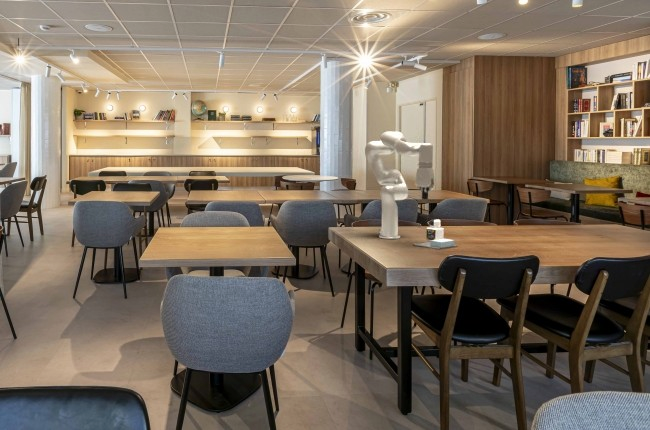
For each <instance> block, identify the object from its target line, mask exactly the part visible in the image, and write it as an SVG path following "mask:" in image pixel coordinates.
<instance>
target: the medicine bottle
mask: <svg viewBox="0 0 650 430" xmlns="http://www.w3.org/2000/svg"><path fill="white" fill-rule="evenodd" d="M441 223H442V222H441V220H440V219H436V218H435V219H431V220H430V221H429V227H426V233H425V234H426V239H425V240H426V241H428V242H430V241H431V240H438V239H445V238H444V232H445V229H444V227H441Z"/></svg>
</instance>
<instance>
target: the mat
mask: <svg viewBox="0 0 650 430" xmlns="http://www.w3.org/2000/svg"><path fill="white" fill-rule="evenodd" d="M412 246H415V247H420V248H427V249H432V250H445V249H451V248H456V247H458V245H456V244H454V246H449V247H443V248H439V247H433V246H430V241H427V242H419V243H413V244H412Z"/></svg>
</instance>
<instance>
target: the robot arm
mask: <svg viewBox="0 0 650 430" xmlns="http://www.w3.org/2000/svg"><path fill="white" fill-rule="evenodd" d="M379 139H380V140H371V141H369V142H368V143H366V145H365V148H364V155H365V159H366V160H367V162H368V164H369V166H370V167H371V170H372V172H373V175H374V176H375V180H376V181H377V183H378V184H379V185H382V186H381V188H380V191H379V192H380V193H379V195H380V200H381V229H378V230H377V233H378V238H380V239H387V240H389V239H391V240H392V239H401V234H399V232H398V228H399V227H398V226H399V224H398V223H399V219H398V218H399V208H398V204H397V202H396V201H403V200H406V199H407V198H408V196H409V189H408V186H407V183H406V181H405V179H404V176H403V174H402V173H401V172H400V171H399V170H398V169H395V168H388V166H387V165H386V164H387V163H386V162H385V161H384V160H383V159H382V158H381V157H380V156H389V155H391V154H393V153H394V152H396V153H397V154H399V155H401V156H405V157H418V164H417V166H418V168H417V170H416V172H415V173H416V174H415V186H417V189H420V192H421V200H429V192H430V190H433V189H434V186H435V173H434V172H435V171H434V168H433V162H434V161H433V157H434V156H433V155H434V146H433V143H428V142H427V143H426V142H425V143H424V142H407V139H406V137H405V136H404V134H403V133H402V132H401V131H390V130H389V131H385V132H383V133H382V134H381V135H380V138H379Z"/></svg>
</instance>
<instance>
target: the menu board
mask: <svg viewBox="0 0 650 430" xmlns="http://www.w3.org/2000/svg"><path fill="white" fill-rule="evenodd" d="M429 242H430V246H433V247H439V248H443V247H449V246H454V245H456V244H455V240H454V239H448V238H444V239H438V240H431V241H429Z"/></svg>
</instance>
